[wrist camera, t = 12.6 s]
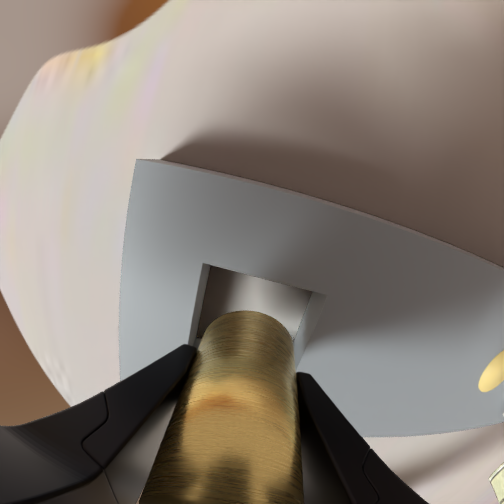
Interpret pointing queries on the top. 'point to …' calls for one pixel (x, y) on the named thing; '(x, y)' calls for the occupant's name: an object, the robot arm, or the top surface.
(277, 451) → the pin
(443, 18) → the top surface
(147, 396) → the robot arm
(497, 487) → the coffee can
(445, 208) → the top surface
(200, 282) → the board
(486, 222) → the top surface
